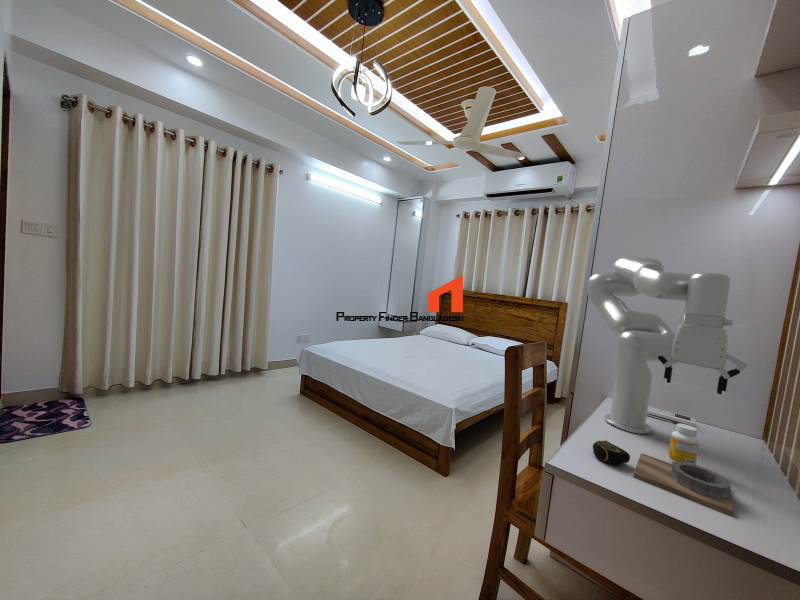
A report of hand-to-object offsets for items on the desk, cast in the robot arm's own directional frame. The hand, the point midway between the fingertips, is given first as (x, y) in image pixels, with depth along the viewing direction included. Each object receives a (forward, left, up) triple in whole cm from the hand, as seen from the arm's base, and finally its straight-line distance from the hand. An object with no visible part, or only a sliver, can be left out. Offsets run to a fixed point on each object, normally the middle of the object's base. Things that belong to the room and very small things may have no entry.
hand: (692, 387), depth 81 cm
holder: (+13, 0, -20) cm, 24 cm away
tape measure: (+15, -14, -20) cm, 29 cm away
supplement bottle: (0, 0, -20) cm, 20 cm away
